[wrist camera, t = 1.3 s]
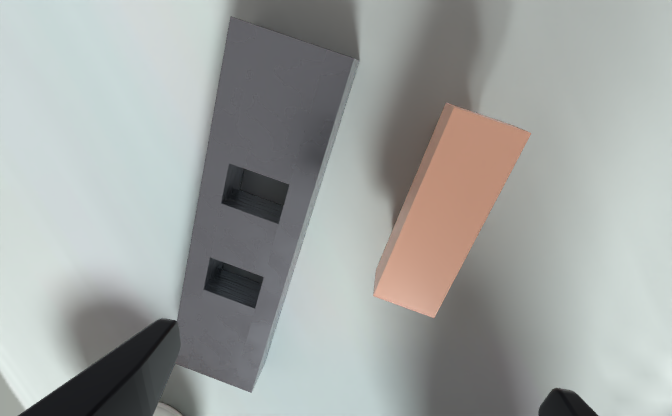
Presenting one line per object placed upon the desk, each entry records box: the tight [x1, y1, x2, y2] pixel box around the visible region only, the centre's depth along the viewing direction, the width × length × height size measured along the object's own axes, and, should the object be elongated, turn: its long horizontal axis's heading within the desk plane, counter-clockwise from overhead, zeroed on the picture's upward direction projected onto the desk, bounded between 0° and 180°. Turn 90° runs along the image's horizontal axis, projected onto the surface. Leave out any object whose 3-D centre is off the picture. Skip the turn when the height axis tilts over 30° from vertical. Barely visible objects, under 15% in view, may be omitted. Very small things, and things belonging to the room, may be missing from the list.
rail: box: [175, 17, 359, 393], centre depth 22 cm, size 6×22×2 cm, turn 163°
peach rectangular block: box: [373, 103, 531, 318], centre depth 18 cm, size 3×9×6 cm, turn 163°
